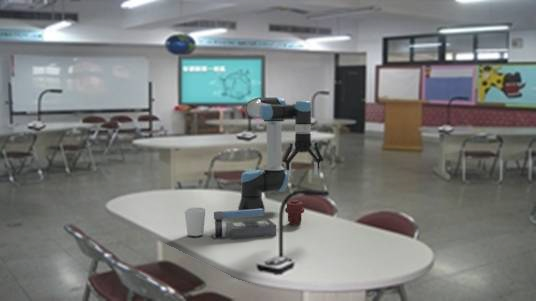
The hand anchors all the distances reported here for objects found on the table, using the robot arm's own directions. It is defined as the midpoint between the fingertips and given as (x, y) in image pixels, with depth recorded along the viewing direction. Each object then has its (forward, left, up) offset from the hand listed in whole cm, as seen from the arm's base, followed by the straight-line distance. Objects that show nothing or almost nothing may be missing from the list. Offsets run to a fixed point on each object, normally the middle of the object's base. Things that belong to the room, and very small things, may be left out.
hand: (302, 176), depth 266 cm
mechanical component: (-14, +1, -28) cm, 31 cm away
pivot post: (-3, -42, -28) cm, 50 cm away
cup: (-9, -52, -28) cm, 60 cm away
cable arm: (-3, -32, -19) cm, 37 cm away
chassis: (-3, -26, -28) cm, 38 cm away
